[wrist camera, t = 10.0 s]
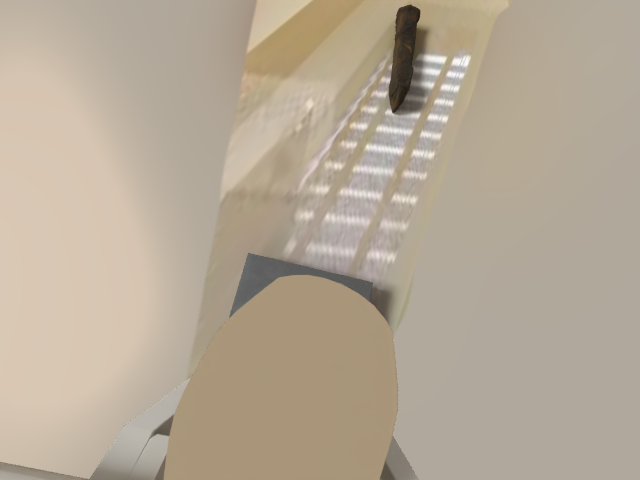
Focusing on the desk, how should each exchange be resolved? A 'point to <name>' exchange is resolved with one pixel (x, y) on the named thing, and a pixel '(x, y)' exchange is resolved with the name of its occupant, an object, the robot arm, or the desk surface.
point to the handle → (290, 390)
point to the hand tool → (403, 54)
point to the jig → (268, 270)
